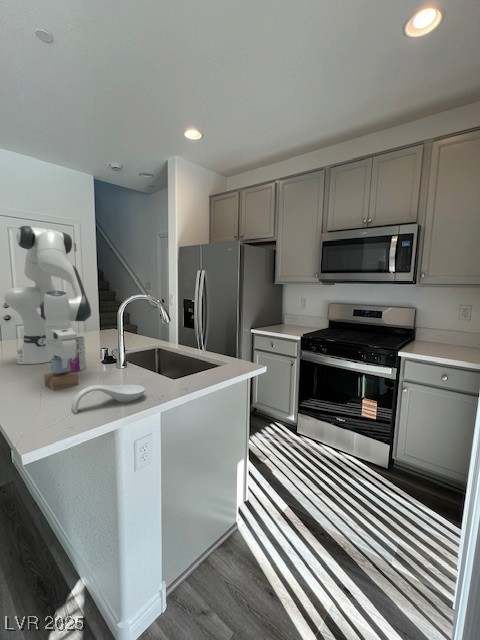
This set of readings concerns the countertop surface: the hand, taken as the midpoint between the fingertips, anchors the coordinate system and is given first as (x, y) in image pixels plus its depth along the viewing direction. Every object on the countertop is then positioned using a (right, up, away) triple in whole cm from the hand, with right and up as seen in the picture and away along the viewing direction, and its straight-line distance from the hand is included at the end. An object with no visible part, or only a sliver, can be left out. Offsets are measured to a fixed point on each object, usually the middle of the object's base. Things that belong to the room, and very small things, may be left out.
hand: (60, 366), depth 119 cm
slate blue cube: (0, -2, 0) cm, 2 cm away
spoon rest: (+27, -11, -16) cm, 33 cm away
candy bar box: (-8, -6, +23) cm, 25 cm away
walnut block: (0, -8, +1) cm, 8 cm away
